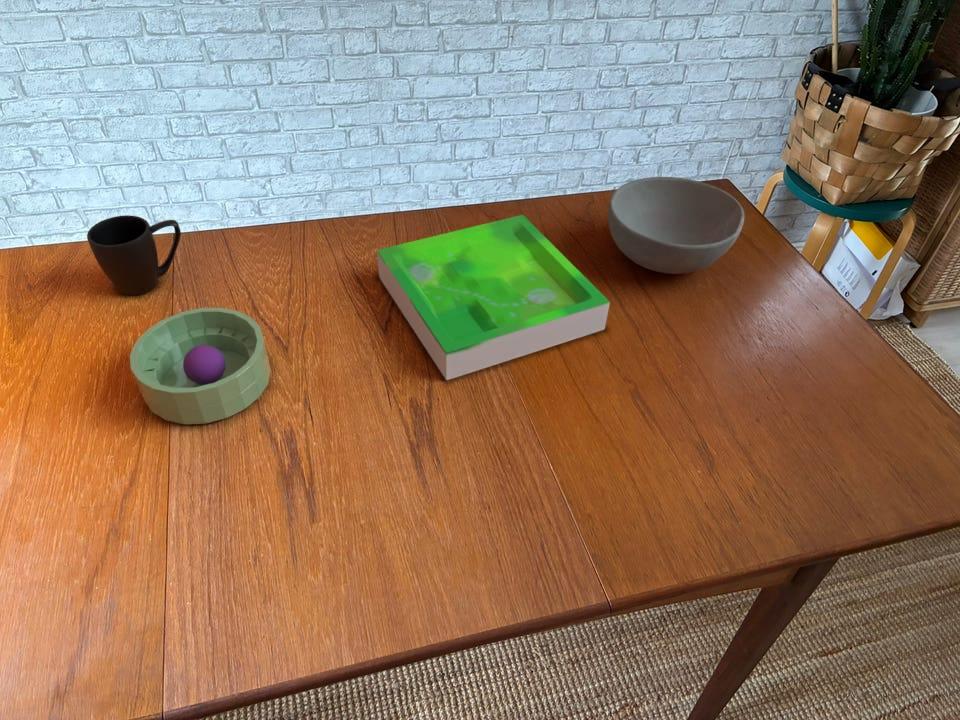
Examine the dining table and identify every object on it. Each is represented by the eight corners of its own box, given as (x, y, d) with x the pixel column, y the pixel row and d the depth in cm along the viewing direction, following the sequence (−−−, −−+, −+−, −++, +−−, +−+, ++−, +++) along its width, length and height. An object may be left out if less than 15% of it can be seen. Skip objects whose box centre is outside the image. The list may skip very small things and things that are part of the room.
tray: (520, 240, 117) (522, 214, 114) (604, 329, 101) (610, 302, 98) (379, 277, 109) (376, 250, 105) (446, 380, 92) (446, 352, 89)
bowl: (609, 217, 124) (619, 165, 117) (728, 237, 120) (745, 185, 113) (591, 282, 109) (601, 227, 102) (726, 308, 106) (745, 252, 99)
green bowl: (235, 438, 84) (224, 403, 80) (118, 412, 87) (102, 377, 82) (290, 353, 95) (283, 319, 91) (186, 333, 98) (175, 298, 94)
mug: (199, 284, 106) (182, 230, 99) (114, 308, 101) (91, 252, 95) (186, 256, 111) (169, 203, 104) (104, 277, 106) (82, 223, 100)
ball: (216, 396, 88) (208, 367, 85) (180, 388, 89) (170, 359, 86) (235, 370, 92) (228, 341, 89) (200, 362, 93) (192, 333, 89)
